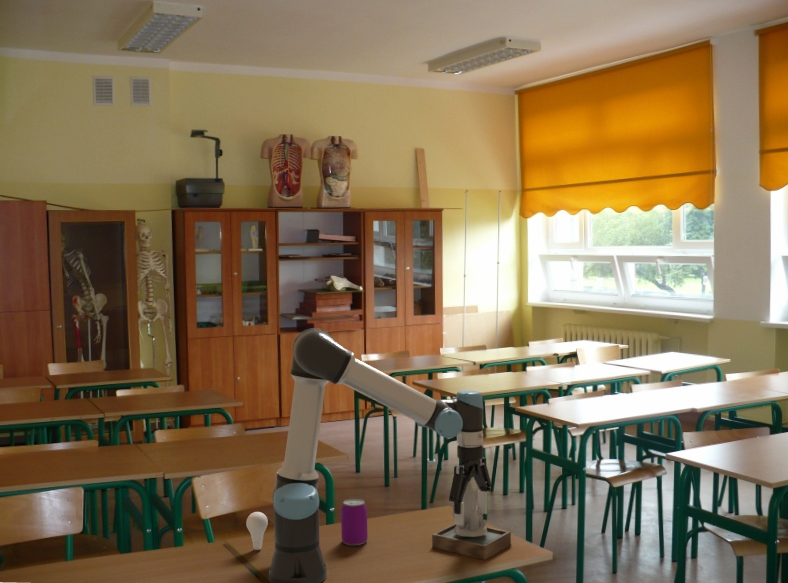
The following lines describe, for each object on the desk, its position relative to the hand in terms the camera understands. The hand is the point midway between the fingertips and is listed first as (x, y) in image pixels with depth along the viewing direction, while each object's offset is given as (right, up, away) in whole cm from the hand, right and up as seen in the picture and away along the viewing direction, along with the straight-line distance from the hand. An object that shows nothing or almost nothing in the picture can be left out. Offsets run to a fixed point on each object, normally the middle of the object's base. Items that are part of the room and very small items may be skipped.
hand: (471, 518), depth 228 cm
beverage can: (-34, -9, +5) cm, 35 cm away
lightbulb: (-62, -9, 0) cm, 63 cm away
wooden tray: (0, -8, 0) cm, 8 cm away
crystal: (0, -4, 0) cm, 4 cm away
